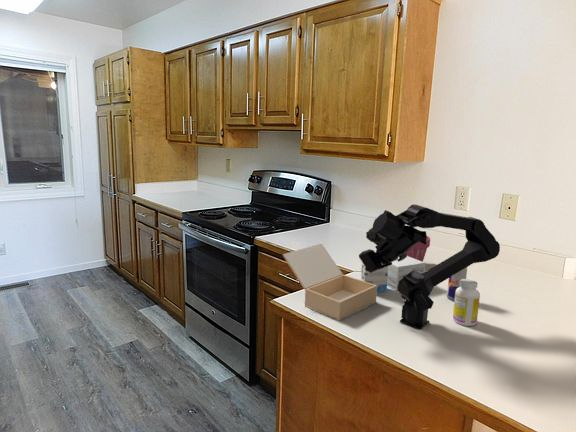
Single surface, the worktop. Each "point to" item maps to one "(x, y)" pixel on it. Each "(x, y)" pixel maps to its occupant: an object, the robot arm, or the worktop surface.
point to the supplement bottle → (466, 303)
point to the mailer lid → (312, 265)
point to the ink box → (376, 278)
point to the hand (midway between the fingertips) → (366, 269)
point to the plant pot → (419, 250)
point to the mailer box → (340, 296)
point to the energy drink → (455, 283)
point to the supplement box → (403, 270)
